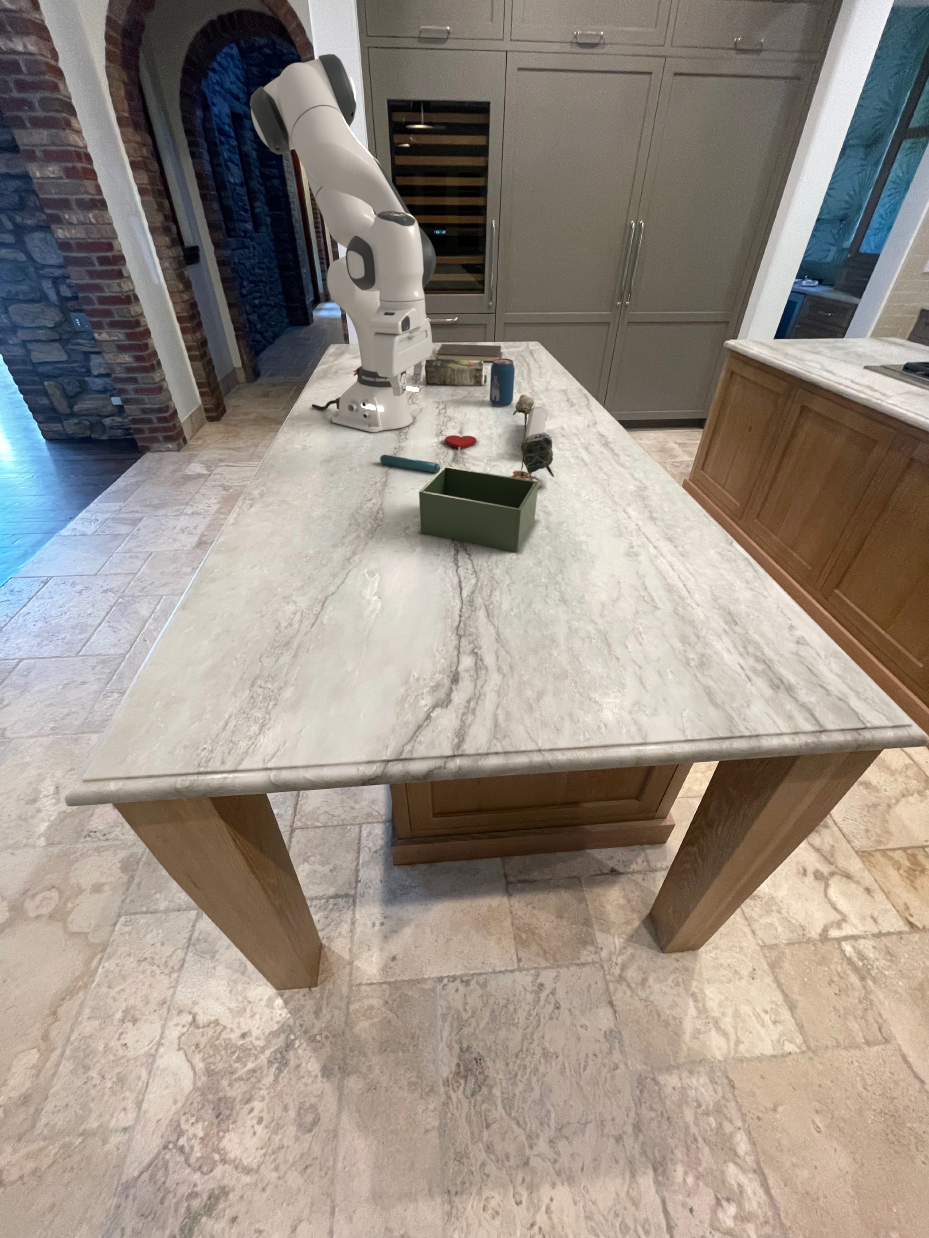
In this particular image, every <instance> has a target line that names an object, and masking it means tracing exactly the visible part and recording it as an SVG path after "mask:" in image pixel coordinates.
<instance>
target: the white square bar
mask: <svg viewBox="0 0 929 1238" xmlns="http://www.w3.org/2000/svg"><path fill="white" fill-rule="evenodd" d="M547 420H548V411H547V410H546V409H544V407H542V406H532V409H531V411H530V413H529V414H527V423H526V424H527V425H526V427H527V429H526V438H527V437H528V436H530V435H533V434H534V435H535V434H538V433H543V432H544V433H545V428H546V422H547Z"/></svg>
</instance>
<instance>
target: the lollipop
mask: <svg viewBox="0 0 929 1238" xmlns="http://www.w3.org/2000/svg"><path fill="white" fill-rule="evenodd" d="M444 443H445V444H446V445H448V446H449V447H452V448H455V449H457V454H456V462H459V457H460V451H461V449H466V448H469V447H472V446H474V445H475V444H476V443H477V438H476V437H475V436H472V435H462V436H460V435H455V434H453V435H447V436H446V437H445V438H444Z"/></svg>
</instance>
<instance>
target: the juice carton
mask: <svg viewBox="0 0 929 1238" xmlns="http://www.w3.org/2000/svg"><path fill="white" fill-rule="evenodd" d="M484 363H485V362H483V361H475V360H437V359H425V363H424V372H425V374H424V375H425V382H426V384H427V385H428V384H433V383H435V384H437V385H438V386H439V385H444V386H445V385H447V386H475V387H476V386H477V387H479V386H484V384H486V383H487V382H488V377H487V374H485V366H484Z"/></svg>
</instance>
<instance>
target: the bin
mask: <svg viewBox="0 0 929 1238" xmlns="http://www.w3.org/2000/svg"><path fill="white" fill-rule="evenodd" d="M538 489H539V488H538V481H532V480H526V479H520V478H514V477H509V476H507V475H501V474H495V473H490V472H489V473H488V472H483V471H477V470H470V469H465V468H459V467H452V466H447V465H444V466H443V467H442V468H440V471H439V472H437V473H435V475H434V476H433V477H432V478H431V479H430V480H429V481H428V482H427V483H426V484H425V485H424V486H423V487H422V488H421V489H420V490H419V491H418V500H419V501H418V502H419V519H420V520H419V522H420V533H421V534H426V535H430V536H434V537H435V536H436V537H439V538H446V539H451V540H455V541H460V542H465V543H468V544H469V543H470V544H475V545H480V546H483V547H484V546H485V547H489V548H490V547H491V548H495V549H499V550H505V551H508V552H514V553H518V551H519V550H520V548H521V546H523V545H522V544H523V543H524V541H525V539H526V537H527V536H528V533H529V532H530V530H531V528H532V527H533V525H534V523H535V518H536V509H537V499H538Z"/></svg>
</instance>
